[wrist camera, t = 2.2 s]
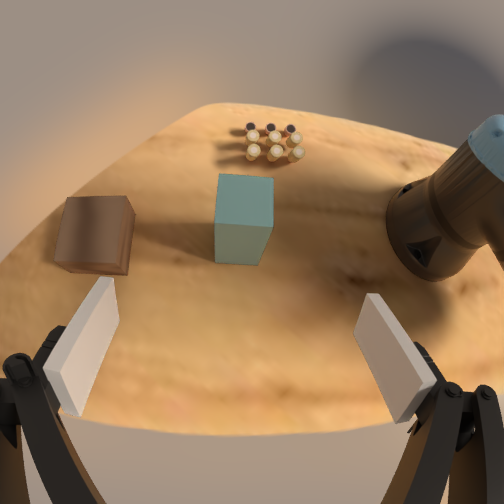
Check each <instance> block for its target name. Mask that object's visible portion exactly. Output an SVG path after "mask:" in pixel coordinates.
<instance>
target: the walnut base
mask: <svg viewBox="0 0 504 504" xmlns="http://www.w3.org/2000/svg"><path fill="white" fill-rule="evenodd" d="M134 221H135V212H134V210H133V208H132V206H131V204H130V202H129V200H128V198H127V196H90V197H67V200H66V203H65V207H64V211H63V216H62V220H61V224H60V229H59V234H58V238H57V243H56V249H55V254H54V260H53V261H54V262H56V263H57V264H59V265H60V266H62V267H63V268H64V269H66V270H67V271H69V272H70V273H86V274H106V275H128V268H129V259H130V251H131V243H132V235H133V228H134Z"/></svg>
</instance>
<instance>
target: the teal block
mask: <svg viewBox="0 0 504 504" xmlns="http://www.w3.org/2000/svg"><path fill="white" fill-rule="evenodd" d="M273 227H274V178H269V177H258V176H246V175H233V174H219V179H218V189H217V199H216V210H215V220H214V237H215V263H226V264H242V265H258V263H259V261H260V259H261V256H262V254H263V251H264V249H265V247H266V244H267V242H268V239H269V237H270V234H271V232H272V230H273Z"/></svg>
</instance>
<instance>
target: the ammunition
mask: <svg viewBox="0 0 504 504" xmlns="http://www.w3.org/2000/svg"><path fill="white" fill-rule="evenodd" d="M255 129H256V125H255V124H254V123H253V122H248V123H247V124H246V126H245V131H246V133H247V135H246V139H245V143H246V145H247V146H248V149H247V152H246V158H247V159H248V160H249V161H254V160H255V159H256V158H257V157H258V155H259V154H260V147H259V146H258V145H257V144H256V143H257V141H258V139H259V133H258V131H256V130H255ZM275 130H276V125H275V124H273V123H268V124H267V125H266V127H265V133H266V134H267V135H268V137H267V139H266V145H267V146H268V147H271V149H270V150H269V152H268V153H267V159H268V160H269V161H271V162H273V161H276V160H277V159H278V158H279V157H280V156H281V155H282V154H283V148H282V147H281V146H280V145H277V144H278V142H279V141H280V140H281V134H280V132H278V131H275ZM295 131H296V127H295V126H294V125H293V124H288V125H287V126H286V127H285V129H284V133H285V135H286V136H290V137H289V138H288V139H287V141H286V145H287V146H288V147H289V148H294V149H293V150H292V151H291V152H290V153H289V154H288V160H289V161H290V162H297V161H298V160H300V159H301V158H302V157H304V155H305V150H304V148H303V147H301V146H297V145H298V144H299V143H300V142H302V140H303V136H302V134H301V133H299V132H295Z"/></svg>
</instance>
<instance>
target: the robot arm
mask: <svg viewBox="0 0 504 504" xmlns="http://www.w3.org/2000/svg"><path fill="white" fill-rule="evenodd" d="M386 225H387V232H388V236H389V239H390V242H391V244H392V246H393V248H394V250H395V252H396V254H397V256H398V257H399V258H400V260H401V261H402V262H403V264H404V265H405V266H406V267H407V268H408V269H409V270H410V271H412V272H413V273H414V274H416V275H417V276H419V277H421V278H423V279H426V280H429V281H441V280H445V279H447V278H449V277H451V276H453V275H455V274H457V273H458V272H459V271H460V270H461V269H462V268H463V267H464V266H465V264H466V263H467V262H468V261H469V260H470V258H471V257H472V256H473V255H474V253H475V252H476V251H477V249H478V248H480V247H482V246H484V245H485V244H489V246H490V248H491V249H492V251H493V253H494V254H495V256H496V258H497V260H498V261H499V263H500V265H501V267H502V269H503V270H504V115H493V116H491V117H489V118H488V119H487V120H486V121H485V122H484V123H483V124H481V125H480V126H479V127H478V128H477V129H475V130H473V131H472V132H471V133H470V134H469V136H468V139H467V140H466V141H465V142H464V143H463V145H462V146H461V147H460V148H459V149H458V150H457V151H456V152H455V153H454V154H453V155H452V156H451V157H450V158H449V159H448V160H447V161H446V162H445V163H444V164H443V165H442V166H441V167H440V168H439V169H438V170H437V171H436V172H435V173H434V174H433V175H431V176H428V177H425V178H423V179H420V180H417V181H414V182H412V183H409V184H407V185H405V186H404V187H402V188H401V189H400V190H399V191H398V192H397V193H396V194H395V195H394V197H393V198H392V199H391V201H390V203H389V205H388V208H387V213H386ZM119 322H120V319H119V313H118V307H117V300H116V293H115V285H114V278H112V277H102V276H100V277H99V279H98V280H97V282H96V283H95V284H94V286H93V287H92V289H91V290H90V292H89V293H88V295H87V296H86V298H85V299H84V301H83V302H82V304H81V305H80V307H79V308H78V310H77V311H76V313H75V315H74V316H73V318H72V319H71V321H70V322H69V324H68V326H67V327H65V326H60V325H58V326H57V327H56V328H55V329H53V330H52V331H51V332H50V333H49V335H48V336H47V338H46V341H44V342H43V344H42V347H40V349H39V350H38V352H37V354H36V355H35V357H34V359H33V360H31V358H30V357H29V356H28V355H26V354H23V353H16V354H13V355H11V356H9V357H8V358H7V359H6V360H5V362H4V364H3V371H4V373H5V375H6V377H7V378H0V504H30V500H29V494H28V489H27V483H26V476H25V470H24V461H23V451H22V441H21V440H22V439H21V425H22V429H23V432H24V435H25V438H26V441H27V444H28V446H29V449H30V452H31V455H32V458H33V460H34V463H35V465H36V468H37V470H38V473H39V475H40V477H41V479H42V482H43V484H44V486H45V489H46V491H47V493H48V495H49V497H50V499H51V501H52V503H53V504H106V503H105V501H104V499H103V498H102V496H101V495H100V493H99V491H98V490H97V488H96V487H95V485H94V483H93V482H92V480H91V478H90V476H89V475H88V473H87V471H86V469H85V468H84V466H83V464H82V462H81V460H80V458H79V456H78V454H77V453H76V450H75V448H74V446H73V444H72V442H71V440H70V438H69V436H68V434H67V432H66V429H65V427H64V425H63V423H62V421H61V418H60V416H59V414H58V410H59V408H60V405H61V407H62V409H63V411H64V413H65V414H69V415H73V416H77V417H81V415H82V413H83V410H84V407H85V404H86V402H87V399H88V396H89V394H90V391H91V389H92V386H93V383H94V381H95V378H96V376H97V373H98V371H99V368H100V366H101V364H102V361H103V359H104V356H105V354H106V352H107V349H108V347H109V345H110V342H111V340H112V338H113V335H114V333H115V331H116V329H117V326H118V324H119ZM353 335H354V337H355V339H356V341H357V343H358V345H359V347H360V349H361V351H362V353H363V355H364V357H365V359H366V361H367V363H368V365H369V367H370V370H371V372H372V374H373V376H374V378H375V380H376V382H377V384H378V387H379V389H380V391H381V393H382V395H383V398H384V400H385V402H386V404H387V406H388V409H389V411H390V413H391V415H392V418H393V420H394V422H395V424H397V423H402V422H407V421H409V420H410V419H411V418H412V416H413V415H414V413H415V414H416V416H417V418H418V419H417V420H416V421H415V423H414V424H413V426H412V427H411V428H410V429H409V431H408V432H407V433H410V432H411V430H412V432H411V435H410V437H409V440H408V443H407V445H406V448H405V451H404V453H403V456H402V458H401V461H400V463H399V466H398V468H397V470H396V472H395V475H394V477H393V479H392V481H391V483H390V486H389V488H388V490H387V492H386V494H385V496H384V498H383V500H382V502H381V504H440V502H441V499H442V496H443V493H444V490H445V486H446V483H447V479H448V476H449V495H448V504H504V428H503V422H502V417H501V412H500V407H499V403H498V399H497V395H496V393H495V391H494V390H493V389H492V388H491V387H489V386H487V385H480V386H478V387H477V389H476V390H475V391H474V392H463V390H462V388H461V387H460V386H459V385H457V384H455V383H453V382H447V381H446V380H445V378H444V377H443V375H442V374H441V372H440V371H439V369H438V368H437V366H436V365H435V363H434V362H433V360H432V359H431V357H429V354H428V353H427V351H426V350H425V348H424V347H423V346H421V345H420V344H419V343H418V342H412V340H411V339H410V338H409V336H408V335H407V333H406V332H405V330H404V329H403V327H402V326H401V324H400V323H399V321H398V320H397V319H396V317H395V316H394V314H393V313H392V311H391V310H390V309H389V307H388V306H387V304H386V303H385V302H384V300H383V299H382V297H381V296H380V295H379V294H377V293H367V294H366V297H365V300H364V303H363V306H362V309H361V312H360V315H359V318H358V321H357V323H356V326H355V329H354V332H353ZM474 428H475V432H474Z"/></svg>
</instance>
